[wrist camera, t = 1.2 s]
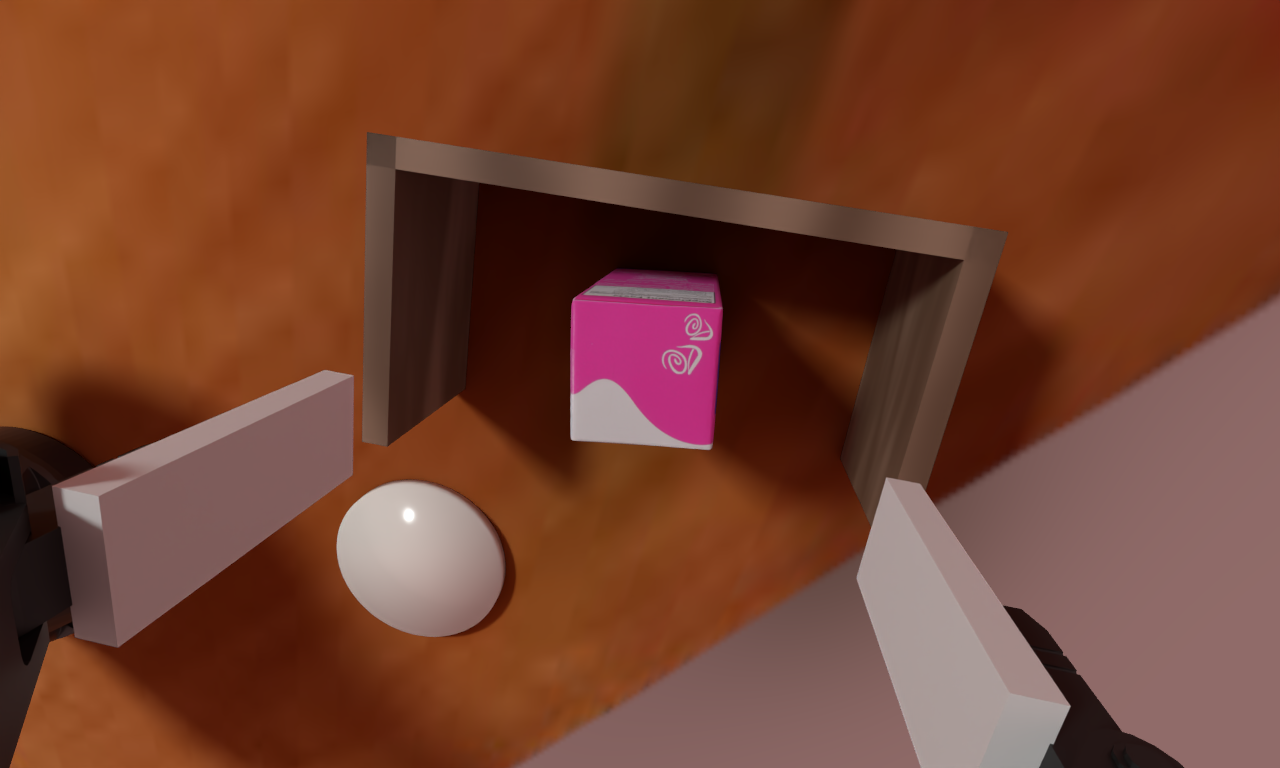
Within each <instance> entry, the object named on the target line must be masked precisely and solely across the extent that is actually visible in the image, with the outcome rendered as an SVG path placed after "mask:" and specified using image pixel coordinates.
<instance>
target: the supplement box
mask: <svg viewBox="0 0 1280 768" xmlns="http://www.w3.org/2000/svg"><path fill="white" fill-rule="evenodd" d="M722 318H723V307H722V301H721V294H720V287H719V280H718V275H717V274H714V273H699V272H682V271H665V270H648V269H628V268H616V269H615V270H614V271H612V272H611V273H610V274H608V275H607V276H605V277H604V278H602V279H601V280H599V281H598V282H596V283H595V284H594V285H592V286H591V287H590V288H588V289H587V290H585V291H584V292H582V293H581V294H579V295H578V296H576V297H575V298H574V299H573V301H572V306H571V351H570V361H571V366H570V368H571V375H570V389H571V396H570V403H571V406H570V414H571V418H570V434H571V440H572V441H586V442H603V443H620V444H635V445H653V446H666V447H678V448H690V449H703V450H710V449H712V445H713V438H714V427H715V415H716V403H717V391H718V377H719V362H720V347H721V333H722Z"/></svg>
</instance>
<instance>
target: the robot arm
mask: <svg viewBox="0 0 1280 768" xmlns="http://www.w3.org/2000/svg"><path fill="white" fill-rule="evenodd" d="M353 395H354V376H353V375H348V374H343V373H338V372H333V371H327V370H324V371H322V372H319V373H317V374H314V375H312V376H310V377H307V378H305V379H303V380H300V381H298V382H296V383H293V384H291V385H289V386H286V387H284V388H282V389H279V390H277V391H274V392H272V393H270V394H267V395H265V396H263V397H260V398H258V399H256V400H253V401H251V402H249V403H246V404H244V405H242V406H239V407H237V408H235V409H232V410H230V411H227V412H225V413H223V414H220V415H218V416H216V417H213V418H211V419H209V420H206V421H204V422H202V423H199V424H197V425H195V426H192V427H190V428H188V429H185V430H183V431H180V432H178V433H176V434H173V435H171V436H169V437H166V438H164V439H162V440H159V441H157V442H155V443H152V444H148V445H144V446H141V447H139V448H137V449H134V450H132V451H129V452H127V453H125V454H122V455H120V456H118V458H117V459H111V460H108V461H106V462H103V463H101V464H99V465H97V466H96V468H93V467H92V466H91V465H90V464H89V463H88V462H87V461H85V460H84V459H83V458H82V457H80V456H79V455H78V454H77V453H75V452H74V451H72V450H71V449H69V448H68V447H66V446H64V445H63V444H61V443H59V442H57V441H55V440H54V439H51V438H49V437H47V436H45V435H42V434H39V433H37V432H33V431H30V430H26V429H22V428H16V427H0V768H9V767H10V764H11V761H12V758H13V755H14V751H15V748H16V745H17V742H18V739H19V736H20V733H21V729H22V726H23V723H24V720H25V717H26V714H27V710H28V707H29V704H30V701H31V698H32V695H33V691H34V688H35V685H36V682H37V679H38V676H39V673H40V669H41V666H42V663H43V660H44V657H45V654H46V650H47V647H48V644H49V642H51V641H54V640H56V639H59V638H63V637H66V636H68V635H71V634H75V638H79V639H83V640H88V641H92V642H96V643H100V644H104V645H109V646H113V647H117V648H118V647H119V646H121V645H122V644H124V643H125V642H126V641H128V640H129V639H130V638H132V637H133V636H134V635H136V634H137V633H138V632H140V631H141V630H143V629H144V628H145V627H147V626H148V625H149V624H151V623H152V622H153V621H155V620H156V619H157V618H159V617H160V616H162V615H163V614H164V613H166V612H167V611H168V610H170V609H171V608H172V607H174V606H175V605H176V604H178V603H179V602H181V601H182V600H183V599H185V598H186V597H187V596H189V595H190V594H191V593H193V592H194V591H195V590H197V589H198V588H200V587H201V586H202V585H204V584H205V583H206V582H208V581H209V580H210V579H212V578H213V577H214V576H216V575H217V574H219V573H220V572H221V571H223V570H224V569H225V568H227V567H228V566H229V565H231V564H232V563H234V562H235V561H236V560H238V559H239V558H240V557H242V556H243V555H244V554H246V553H247V552H248V551H250V550H251V549H253V548H254V547H255V546H257V545H258V544H259V543H261V542H262V541H263V540H265V539H266V538H267V537H269V536H270V535H272V534H273V533H274V532H276V531H277V530H278V529H280V528H281V527H282V526H284V525H285V524H286V523H288V522H289V521H291V520H292V519H293V518H295V517H296V516H297V515H299V514H300V513H301V512H303V511H304V510H305V509H307V508H308V507H310V506H311V505H312V504H314V503H315V502H316V501H318V500H319V499H320V498H322V497H323V496H324V495H326V494H327V493H329V492H330V491H331V490H333V489H334V488H335V487H337V486H338V485H339V484H341V483H342V482H344V481H345V480H346V479H348V478H349V477H350V476H352V475H353ZM857 581H858V584H859V587H860V590H861V593H862V596H863V599H864V602H865V605H866V608H867V611H868V614H869V616H870V620H871V623H872V625H873V628H874V631H875V634H876V637H877V640H878V643H879V646H880V649H881V652H882V654H883V658H884V661H885V663H886V666H887V669H888V672H889V675H890V678H891V681H892V684H893V687H894V690H895V693H896V696H897V699H898V702H899V705H900V707H901V710H902V714H903V717H904V719H905V722H906V725H907V728H908V731H909V734H910V737H911V740H912V743H913V746H914V749H915V752H916V755H917V758H918V761H919V763H920V766H921V768H1184V767H1183V766H1182V765H1181V764H1180V763H1179V762H1178V761H1176V760H1175V759H1173V758H1172V757H1170V756H1168V755H1167V754H1166V753H1164V752H1163V751H1161V750H1160V749H1159V748H1157V747H1155V746H1154V745H1152V744H1150V743H1148V742H1146V741H1143V740H1142V739H1139V738H1137V737H1135V736H1133V735H1131V734H1127V733H1124V732H1122V731H1121V730H1120V728H1119V727H1118V726H1117V724H1116V723H1115V722H1114V720H1113V719H1112V718H1111V716H1110V715H1109V713H1108V712H1107V711H1106V709H1105V708H1104V707H1103V705H1102V704H1101V703H1100V701H1099V700H1098V699H1097V697H1096V696H1095V695H1094V693H1093V692H1092V691H1091V689H1090V688H1089V686H1088V685H1087V684H1086V682H1085V681H1084V680H1083V678H1082V677H1081V676H1080V675H1077V674H1076V669H1075V668H1074V666H1073V665H1072V664H1071V662H1070V661H1069V660H1068V658H1067V657H1066V656H1063V652H1062V650H1061V649H1060V647H1059V646H1058V645H1057V644H1056V642H1055V641H1054V639H1053V638H1052V637H1051V635H1050V634H1049V632H1048V631H1047V630H1046V629H1045V628H1043V627H1042V626H1041V625H1040V624H1039V623H1037V622H1036V621H1035V620H1034V619H1033V618H1031V617H1030V616H1029V615H1028V614H1027V613H1025V612H1024V611H1023V610H1022V609H1018V608H1013V607H1008V606H1003V605H1002V604H1001V603H1000V601H999V600H998V598H997V597H996V595H995V594H994V592H993V591H992V589H991V588H990V586H989V585H988V583H987V582H986V580H985V579H984V578H983V576H982V575H981V573H980V572H979V570H978V569H977V567H976V566H975V564H974V563H973V561H972V560H971V559H970V557H969V555H968V554H967V552H966V551H965V549H964V548H963V546H962V545H961V544H960V542H959V541H958V539H957V538H956V536H955V535H954V533H953V532H952V530H951V529H950V527H949V526H948V524H947V523H946V521H945V520H944V519H943V517H942V516H941V514H940V512H939V511H938V510H937V508H936V507H935V505H934V504H933V502H932V501H931V499H930V498H929V496H928V495H927V493H926V492H925V490H924V489H923V487H922V486H921V484H919V483H914V482H909V481H904V480H898V479H893V478H888V477H886V480H885V484H884V487H883V490H882V494H881V497H880V500H879V504H878V507H877V510H876V514H875V517H874V520H873V524H872V527H871V531H870V534H869V537H868V541H867V544H866V547H865V551H864V554H863V557H862V561H861V564H860V567H859V571H858V574H857Z"/></svg>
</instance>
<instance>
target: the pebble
mask: <svg viewBox="0 0 1280 768" xmlns="http://www.w3.org/2000/svg"><path fill="white" fill-rule="evenodd" d="M337 557H338V562H339V567H340V570H341V572H342V575H343V578H344V580H345V582H346V584H347V586H348V587H349V589H350V590H351V592H352V593H353V595H354V596H355V597H356V599H357V600H358V601H359V602H360V603H361V604H362V605H363V606H364V607H365V608H366V609H367V610H368V611H369V612H370V613H371V614H373V615H374V616H375V617H377V618H378V619H380V620H381V621H383V622H384V623H386V624H388V625H390V626H392V627H394V628H396V629H399V630H401V631H404V632H407V633H411V634H414V635H420V636H429V637H440V636H448V635H453V634H457V633H460V632H463V631H465V630H467V629H469V628H471V627H473V626H474V625H476V624H477V623H479V622H480V621H481V620H482V619H483V618H484V617H485V616H486V615H487V614H488V613H489V611H490V610H491V609H492V607H493V605H494V604H495V602H496V600H497V598H498V596H499V594H500V593H501V590H502V587H503V584H504V579H505V571H506V563H505V555H504V551H503V547H502V544H501V541H500V539H499V536H498V534H497V532H496V530H495V529H494V527H493V525H492V524H491V522H490V521H489V520H488V518H487V517H486V516H485V515H484V513H483V512H482V511H481V510H480V509H479V508H478V507H477V506H476V505H474V504H473V503H472V502H471V501H470V500H468V499H467V498H465V497H464V496H463V495H461V494H460V493H458V492H456V491H454V490H452V489H450V488H448V487H445V486H443V485H440V484H437V483H433V482H429V481H423V480H409V479H406V480H397V481H392V482H389V483H385V484H383V485H380V486H378V487H376V488H374V489H373V490H371V491H369V492H368V493H367V494H365V495H364V496H363V497H362V498H361V499H359V500H358V501H357V502H356V503H355V504H354V505H353V506H352V507H351V508H350V509H349V510H348V512H347V513H346V515H345V517H344V518H343V521H342V523H341V525H340V528H339V532H338V537H337Z"/></svg>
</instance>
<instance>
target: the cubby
mask: <svg viewBox="0 0 1280 768" xmlns="http://www.w3.org/2000/svg"><path fill="white" fill-rule="evenodd" d="M479 183H486V184H492V185H498V186H504V187H511V188H517V189H523V190H529V191H536V192H542V193H548V194H554V195H561V196H567V197H573V198H579V199H586V200H592V201H598V202H604V203H611V204H617V205H623V206H629V207H636V208H642V209H648V210H654V211H661V212H667V213H673V214H679V215H686V216H692V217H698V218H704V219H711V220H717V221H723V222H729V223H736V224H742V225H748V226H754V227H761V228H767V229H773V230H779V231H786V232H792V233H798V234H804V235H811V236H817V237H823V238H829V239H836V240H842V241H848V242H854V243H861V244H867V245H873V246H879V247H886V248H892V249H897V250H896V253H895V257H894V261H893V265H892V268H891V272H890V276H889V279H888V283H887V287H886V290H885V294H884V298H883V302H882V305H881V309H880V313H879V316H878V320H877V324H876V328H875V331H874V335H873V339H872V342H871V346H870V350H869V354H868V357H867V361H866V365H865V368H864V372H863V376H862V379H861V383H860V387H859V391H858V394H857V398H856V402H855V405H854V409H853V413H852V417H851V420H850V424H849V428H848V431H847V435H846V439H845V442H844V446H843V450H842V454H841V457H840V460H841V462H842V464H843V466H844V468H845V471H846V473H847V475H848V477H849V479H850V481H851V484H852V486H853V488H854V490H855V492H856V495H857V497H858V499H859V501H860V503H861V506H862V508H863V510H864V512H865V514H866V516H867V519H868V521H869V523H870V525H871V527H872V524H873V520H874V517H875V514H876V510H877V507H878V504H879V500H880V497H881V494H882V490H883V487H884V484H885V480H886V477H888V478H893V479H898V480H904V481H909V482H914V483H919V484H921V486H922V487H923V489H924V490H925V491H926V487H927V484H928V481H929V478H930V475H931V472H932V469H933V466H934V462H935V459H936V456H937V453H938V450H939V447H940V444H941V441H942V437H943V434H944V431H945V428H946V425H947V422H948V419H949V416H950V413H951V409H952V406H953V403H954V400H955V397H956V394H957V391H958V388H959V384H960V381H961V378H962V375H963V372H964V369H965V366H966V363H967V359H968V356H969V353H970V350H971V347H972V344H973V341H974V338H975V335H976V331H977V328H978V325H979V322H980V319H981V316H982V313H983V310H984V306H985V303H986V300H987V297H988V294H989V291H990V288H991V285H992V281H993V278H994V275H995V272H996V269H997V266H998V263H999V260H1000V256H1001V253H1002V250H1003V247H1004V244H1005V241H1006V238H1007V235H1008V232H1004V231H998V230H991V229H985V228H978V227H972V226H965V225H959V224H953V223H946V222H940V221H933V220H927V219H921V218H914V217H908V216H901V215H895V214H889V213H882V212H876V211H869V210H863V209H856V208H850V207H844V206H837V205H831V204H824V203H818V202H812V201H805V200H799V199H792V198H786V197H779V196H773V195H767V194H760V193H754V192H747V191H741V190H735V189H728V188H722V187H715V186H709V185H702V184H696V183H690V182H683V181H677V180H670V179H664V178H658V177H651V176H645V175H638V174H632V173H626V172H619V171H613V170H606V169H600V168H593V167H587V166H581V165H574V164H568V163H561V162H555V161H549V160H542V159H536V158H529V157H523V156H516V155H510V154H504V153H497V152H491V151H484V150H478V149H472V148H465V147H459V146H452V145H446V144H440V143H433V142H427V141H420V140H414V139H407V138H401V137H395V136H388V135H382V134H375V133H369V132H367V167H366V230H365V292H364V354H363V417H362V442H367V443H372V444H377V445H382V446H389V445H390V444H391V443H393V442H394V441H395V440H397V439H398V438H399V437H401V436H402V435H403V434H405V433H406V432H408V431H409V430H410V429H412V428H413V427H414V426H416V425H417V424H418V423H420V422H421V421H422V420H424V419H425V418H426V417H428V416H429V415H431V414H432V413H433V412H435V411H436V410H437V409H439V408H440V407H441V406H443V405H444V404H445V403H447V402H448V401H449V400H451V399H452V398H453V397H455V396H456V395H458V394H459V393H460V392H462V391H463V390H464V389H465V384H466V370H467V355H468V340H469V326H470V311H471V296H472V282H473V267H474V253H475V238H476V223H477V209H478V194H479Z"/></svg>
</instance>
